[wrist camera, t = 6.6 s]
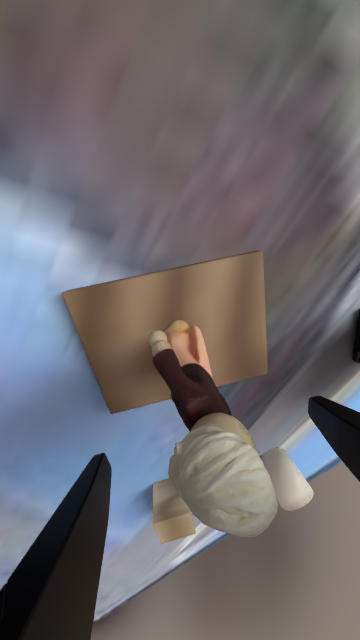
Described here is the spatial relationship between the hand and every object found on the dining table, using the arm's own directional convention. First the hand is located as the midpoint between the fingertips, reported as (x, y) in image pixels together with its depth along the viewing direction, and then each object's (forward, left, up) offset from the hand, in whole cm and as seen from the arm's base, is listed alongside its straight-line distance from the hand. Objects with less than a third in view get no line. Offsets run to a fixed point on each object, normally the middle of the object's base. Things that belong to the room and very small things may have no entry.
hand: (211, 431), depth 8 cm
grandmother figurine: (0, 0, -10) cm, 10 cm away
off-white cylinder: (-9, +21, -11) cm, 25 cm away
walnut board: (0, 0, -11) cm, 11 cm away
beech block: (+5, +21, -11) cm, 24 cm away
